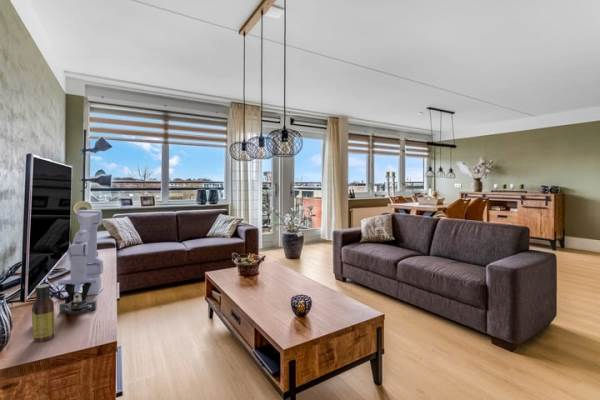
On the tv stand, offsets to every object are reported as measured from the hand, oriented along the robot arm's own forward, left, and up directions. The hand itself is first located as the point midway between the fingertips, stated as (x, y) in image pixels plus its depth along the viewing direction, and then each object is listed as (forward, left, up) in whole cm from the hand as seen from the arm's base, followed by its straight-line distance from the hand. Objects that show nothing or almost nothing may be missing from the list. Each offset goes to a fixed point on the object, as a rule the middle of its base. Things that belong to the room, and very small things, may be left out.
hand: (78, 300), depth 135 cm
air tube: (0, 0, -3) cm, 3 cm away
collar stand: (0, 0, -5) cm, 5 cm away
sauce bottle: (+25, -3, -5) cm, 26 cm away
